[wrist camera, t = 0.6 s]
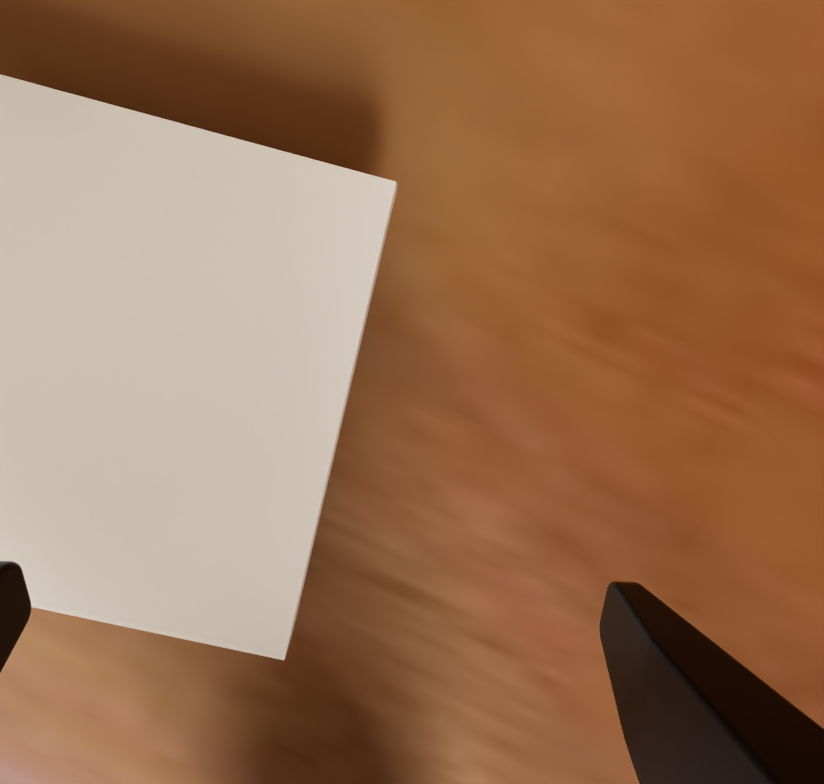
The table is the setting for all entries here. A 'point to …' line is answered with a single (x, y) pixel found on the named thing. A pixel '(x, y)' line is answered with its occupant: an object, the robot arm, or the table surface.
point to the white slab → (172, 363)
